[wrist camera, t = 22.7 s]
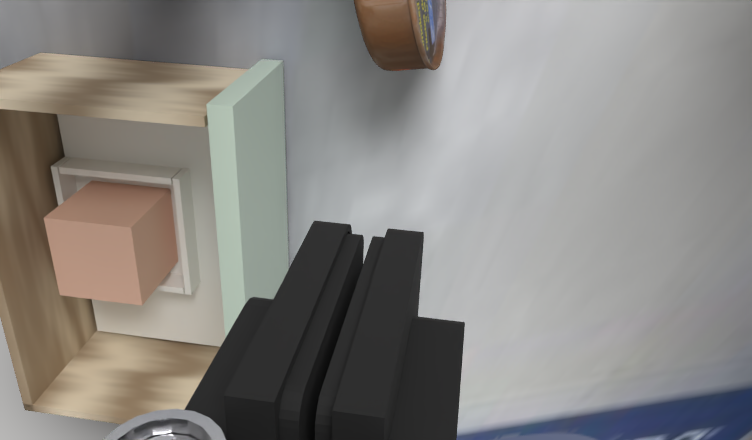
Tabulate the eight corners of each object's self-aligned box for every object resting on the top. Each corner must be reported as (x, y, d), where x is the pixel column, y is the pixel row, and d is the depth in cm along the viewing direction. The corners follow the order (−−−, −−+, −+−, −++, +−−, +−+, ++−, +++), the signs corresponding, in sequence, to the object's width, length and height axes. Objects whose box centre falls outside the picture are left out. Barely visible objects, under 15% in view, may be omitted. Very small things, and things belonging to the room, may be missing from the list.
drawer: (283, 60, 37) (232, 106, 30) (291, 367, 47) (255, 456, 40) (52, 42, 39) (-49, 82, 32) (106, 342, 48) (39, 424, 41)
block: (170, 188, 41) (130, 227, 36) (178, 260, 43) (142, 305, 39) (91, 180, 42) (43, 217, 37) (103, 252, 44) (59, 295, 39)
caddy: (258, 69, 38) (204, 116, 31) (271, 354, 47) (231, 440, 40) (40, 52, 39) (-59, 93, 32) (93, 331, 48) (25, 409, 41)
